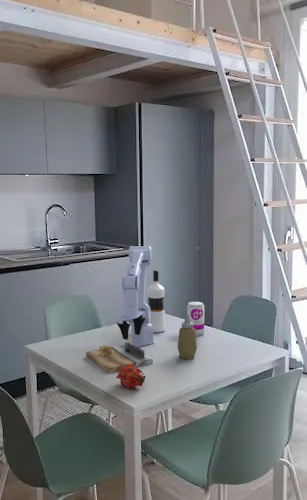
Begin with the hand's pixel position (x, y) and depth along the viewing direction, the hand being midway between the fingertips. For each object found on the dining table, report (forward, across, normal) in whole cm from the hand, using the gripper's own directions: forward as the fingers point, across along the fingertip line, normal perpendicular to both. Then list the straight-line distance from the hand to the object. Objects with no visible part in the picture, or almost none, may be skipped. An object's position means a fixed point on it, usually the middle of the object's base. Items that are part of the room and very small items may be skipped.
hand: (131, 336), depth 198 cm
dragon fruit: (+9, +22, +19) cm, 31 cm away
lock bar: (+6, +1, +3) cm, 7 cm away
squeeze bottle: (+9, -14, +18) cm, 25 cm away
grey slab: (+9, +5, -2) cm, 11 cm away
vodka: (+9, -37, -15) cm, 41 cm away
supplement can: (+9, -44, +3) cm, 45 cm away
